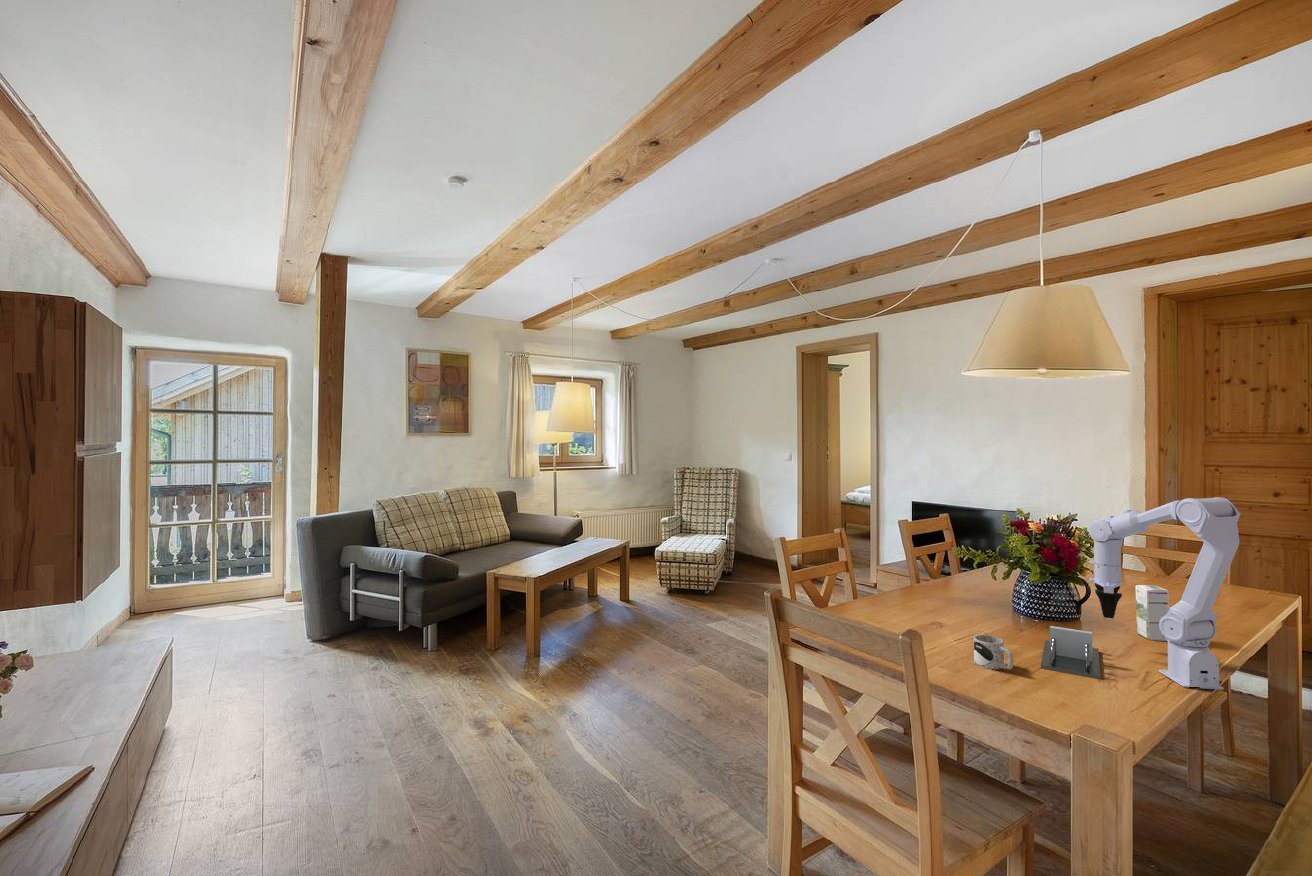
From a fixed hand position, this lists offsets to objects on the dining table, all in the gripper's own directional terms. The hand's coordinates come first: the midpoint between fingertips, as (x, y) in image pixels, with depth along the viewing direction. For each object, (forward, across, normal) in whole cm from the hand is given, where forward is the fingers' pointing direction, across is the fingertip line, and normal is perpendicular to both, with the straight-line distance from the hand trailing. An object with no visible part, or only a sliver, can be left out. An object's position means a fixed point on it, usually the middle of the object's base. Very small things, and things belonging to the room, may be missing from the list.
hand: (1108, 614), depth 158 cm
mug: (+10, +30, -24) cm, 40 cm away
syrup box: (+10, -20, +11) cm, 25 cm away
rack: (+10, +14, -8) cm, 19 cm away
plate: (+9, +14, -8) cm, 18 cm away
